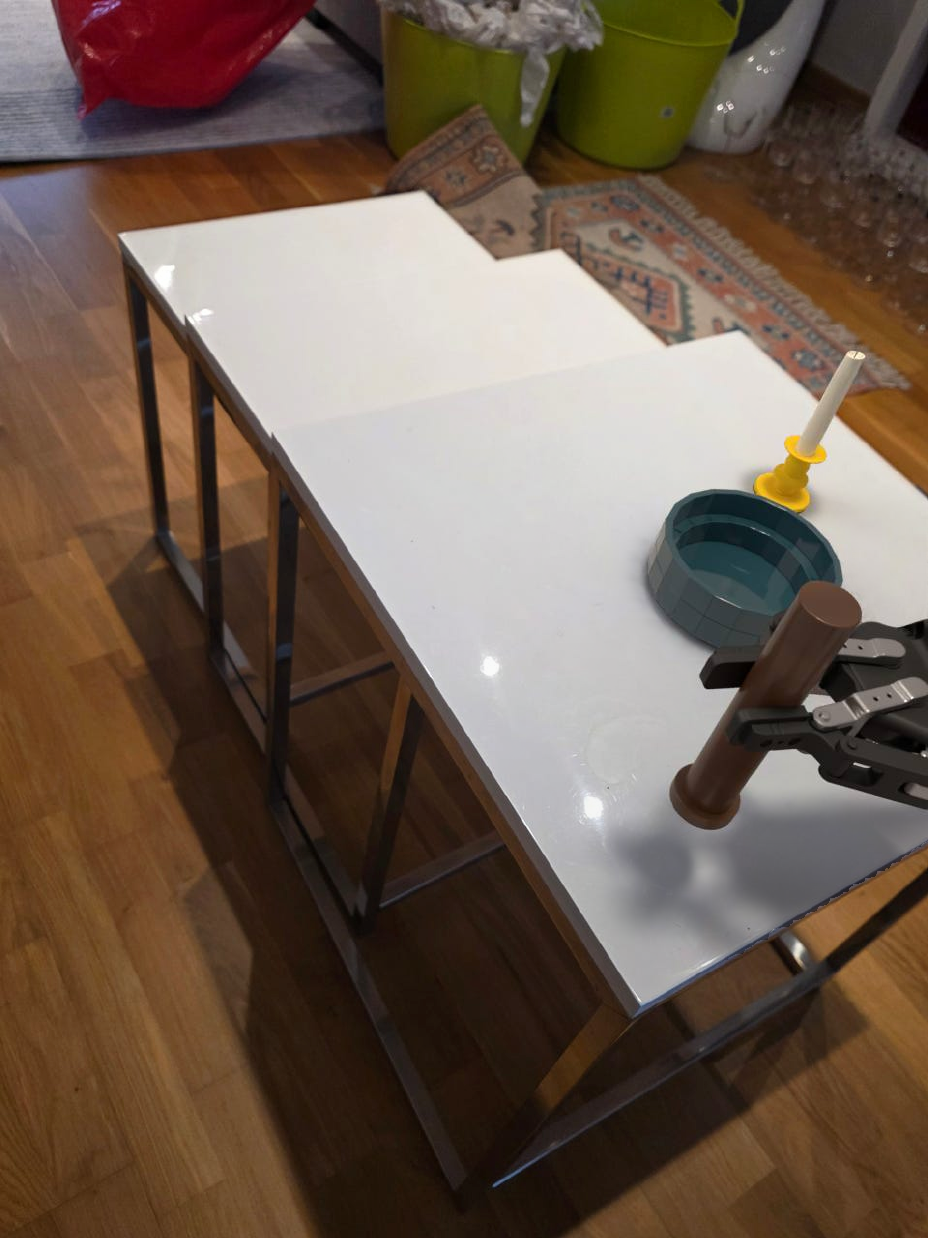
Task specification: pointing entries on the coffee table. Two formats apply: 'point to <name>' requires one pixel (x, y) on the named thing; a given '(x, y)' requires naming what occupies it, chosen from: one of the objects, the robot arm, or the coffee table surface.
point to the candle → (808, 443)
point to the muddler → (766, 700)
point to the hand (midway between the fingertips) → (720, 699)
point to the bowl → (735, 564)
